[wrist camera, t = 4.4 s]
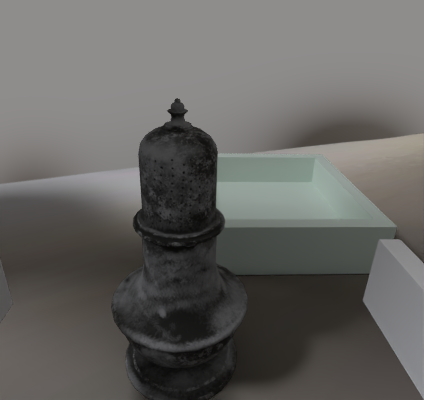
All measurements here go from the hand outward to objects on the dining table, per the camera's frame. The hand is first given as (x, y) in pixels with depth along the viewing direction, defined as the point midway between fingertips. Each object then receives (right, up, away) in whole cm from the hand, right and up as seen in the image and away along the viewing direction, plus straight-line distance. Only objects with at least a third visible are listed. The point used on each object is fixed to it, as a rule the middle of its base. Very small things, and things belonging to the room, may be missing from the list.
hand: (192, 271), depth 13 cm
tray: (+5, +1, +17) cm, 17 cm away
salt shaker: (-1, -5, +5) cm, 7 cm away
